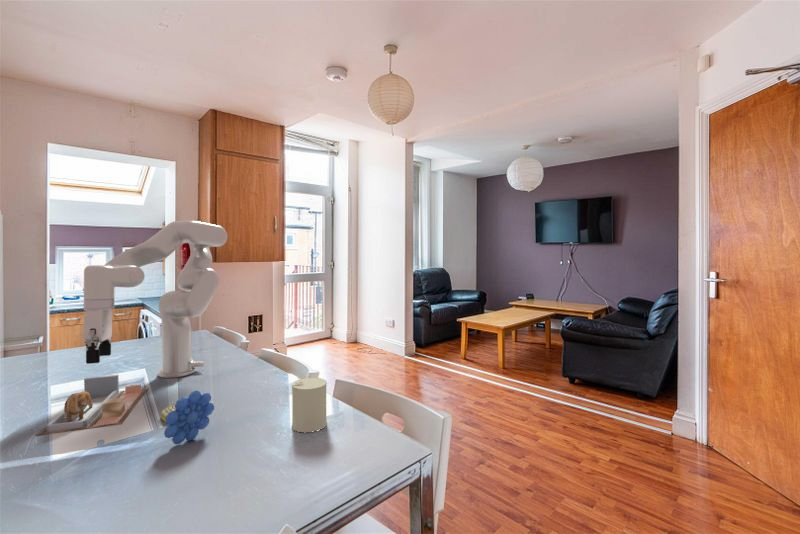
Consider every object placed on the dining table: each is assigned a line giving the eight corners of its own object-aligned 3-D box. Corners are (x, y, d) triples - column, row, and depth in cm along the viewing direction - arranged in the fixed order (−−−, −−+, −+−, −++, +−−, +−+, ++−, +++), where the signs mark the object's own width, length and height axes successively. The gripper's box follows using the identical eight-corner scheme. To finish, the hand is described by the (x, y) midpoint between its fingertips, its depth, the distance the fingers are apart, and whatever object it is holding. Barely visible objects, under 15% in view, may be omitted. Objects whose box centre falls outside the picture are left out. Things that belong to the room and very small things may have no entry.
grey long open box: (118, 396, 121) (118, 374, 121) (86, 430, 98) (86, 404, 97) (86, 399, 118) (86, 377, 118) (45, 436, 94) (44, 408, 94)
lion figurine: (89, 426, 100) (88, 393, 100) (62, 432, 97) (61, 397, 96) (94, 408, 112) (93, 378, 112) (70, 412, 109) (70, 381, 108)
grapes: (206, 426, 100) (205, 382, 100) (219, 434, 96) (218, 387, 96) (157, 444, 91) (156, 395, 90) (169, 453, 87) (168, 402, 86)
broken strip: (142, 392, 124) (142, 383, 124) (117, 425, 100) (117, 414, 100) (125, 394, 122) (125, 385, 122) (95, 428, 99) (95, 417, 98)
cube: (124, 410, 108) (124, 396, 107) (120, 416, 104) (120, 402, 104) (107, 412, 106) (107, 398, 106) (102, 418, 102) (102, 404, 102)
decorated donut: (211, 418, 106) (211, 405, 106) (168, 431, 98) (168, 417, 98) (198, 407, 113) (198, 395, 113) (156, 419, 105) (156, 406, 105)
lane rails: (148, 391, 125) (148, 388, 125) (121, 427, 99) (121, 423, 99) (82, 399, 119) (82, 395, 119) (36, 439, 93) (35, 434, 93)
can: (289, 421, 104) (289, 378, 103) (323, 415, 107) (323, 374, 107) (294, 436, 95) (294, 389, 95) (330, 429, 99) (330, 384, 98)
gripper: (95, 302, 124) (94, 353, 125) (72, 308, 108) (71, 367, 109) (122, 301, 127) (122, 352, 127) (103, 307, 111) (103, 365, 111)
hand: (99, 359), depth 118 cm, fingers open, 9 cm apart
